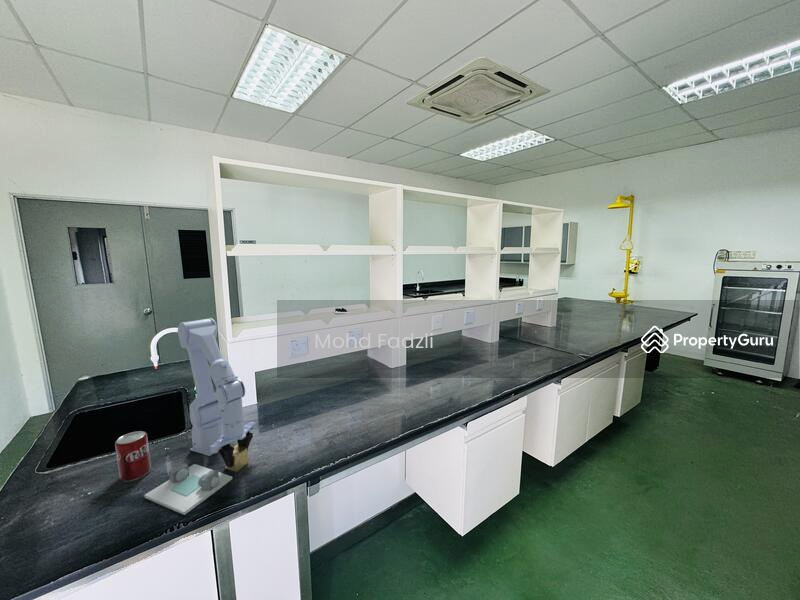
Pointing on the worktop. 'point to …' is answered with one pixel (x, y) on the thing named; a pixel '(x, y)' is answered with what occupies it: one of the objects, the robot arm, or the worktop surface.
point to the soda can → (133, 456)
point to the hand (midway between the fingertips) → (236, 461)
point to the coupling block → (239, 458)
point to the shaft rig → (187, 487)
